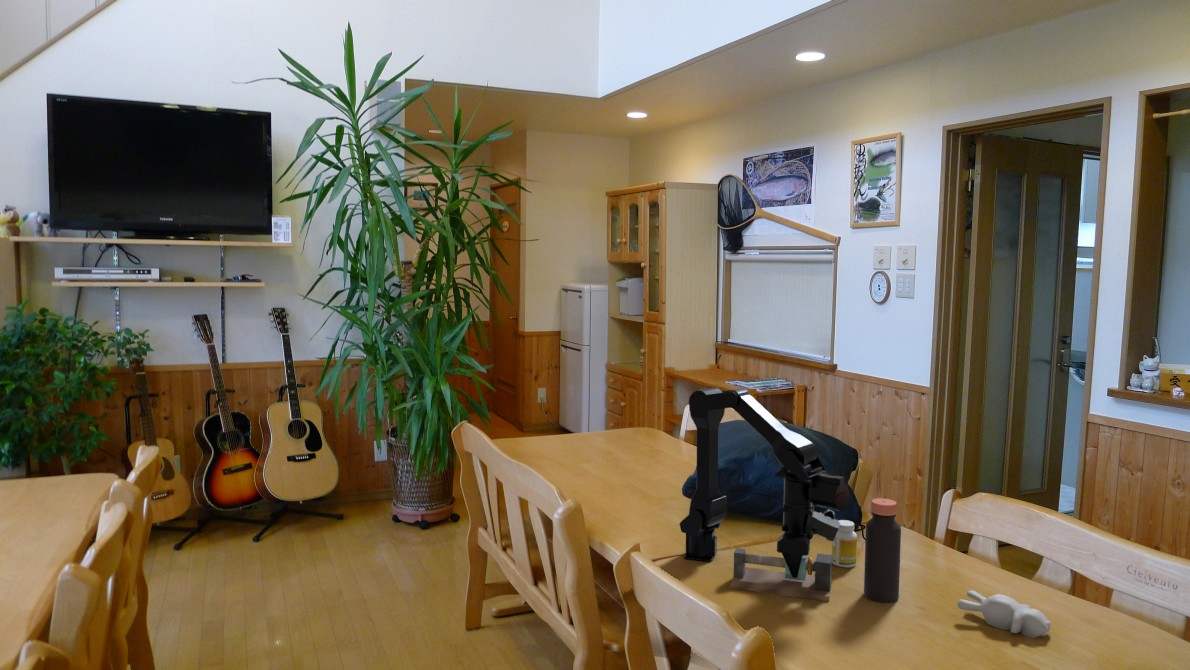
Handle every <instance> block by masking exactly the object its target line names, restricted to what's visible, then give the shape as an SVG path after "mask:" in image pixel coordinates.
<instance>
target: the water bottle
mask: <svg viewBox="0 0 1190 670" xmlns="http://www.w3.org/2000/svg"><path fill="white" fill-rule="evenodd" d="M870 504H871V505H870V511H871V515H872V517H871V518H870V519H869V520H868V521H867V522H866V523H865V538H864V539H865V541H864V543H865V544H864V545H865V547H864V548H865V549H864V575H863V577H864V578H863V594H864V596H865V597H866V598H867V599H869V600H871V601H873V602H878V603H888V604H889V603H894V602H896V601H898V599H899V597H900V576H901V575H900V574H901V573H900V570H901V568H900V567H901V543H902V542H901V539H902V528H901V525H900V524H899V523H898V522H897V520H896V517H897V511H898V509H897V507H898V503H897V502H896V501H895V500H893V499H889V498H880V497H879V498H877V497H876V498H873V499H871V501H870Z"/></svg>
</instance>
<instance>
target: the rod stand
mask: <svg viewBox="0 0 1190 670" xmlns="http://www.w3.org/2000/svg"><path fill="white" fill-rule="evenodd" d="M746 564H752V565H760V566H766V567H767V566H768V567H777V568H783V569H785V559H784V557H780V556H779V557H778V556H769V555H761V554H755V553H746V548H740V547H736V548H735V550H734V551H733V577H732V580H731V582H730V589H733V588H734V589H736V590H741V591H750V592H757V593H766V594H771V595H772V594H773V595H781V596H787V597H794V598H802V599H808V600H818V601H825V602H830V596H831V588H832V583H833V578H832V567H833V566H832V564H833V563H832V554H825V553H816V557H815V561H814V559H813V556H812V557H811V556H807V561H806V564H805V570H807V573H806V578H805V581H802V580H794V579H786V578H785V571H779V570H771V569H770V570H769V569H763V568H754V567H746ZM813 572H814V575H813ZM734 589H733V590H734Z"/></svg>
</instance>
